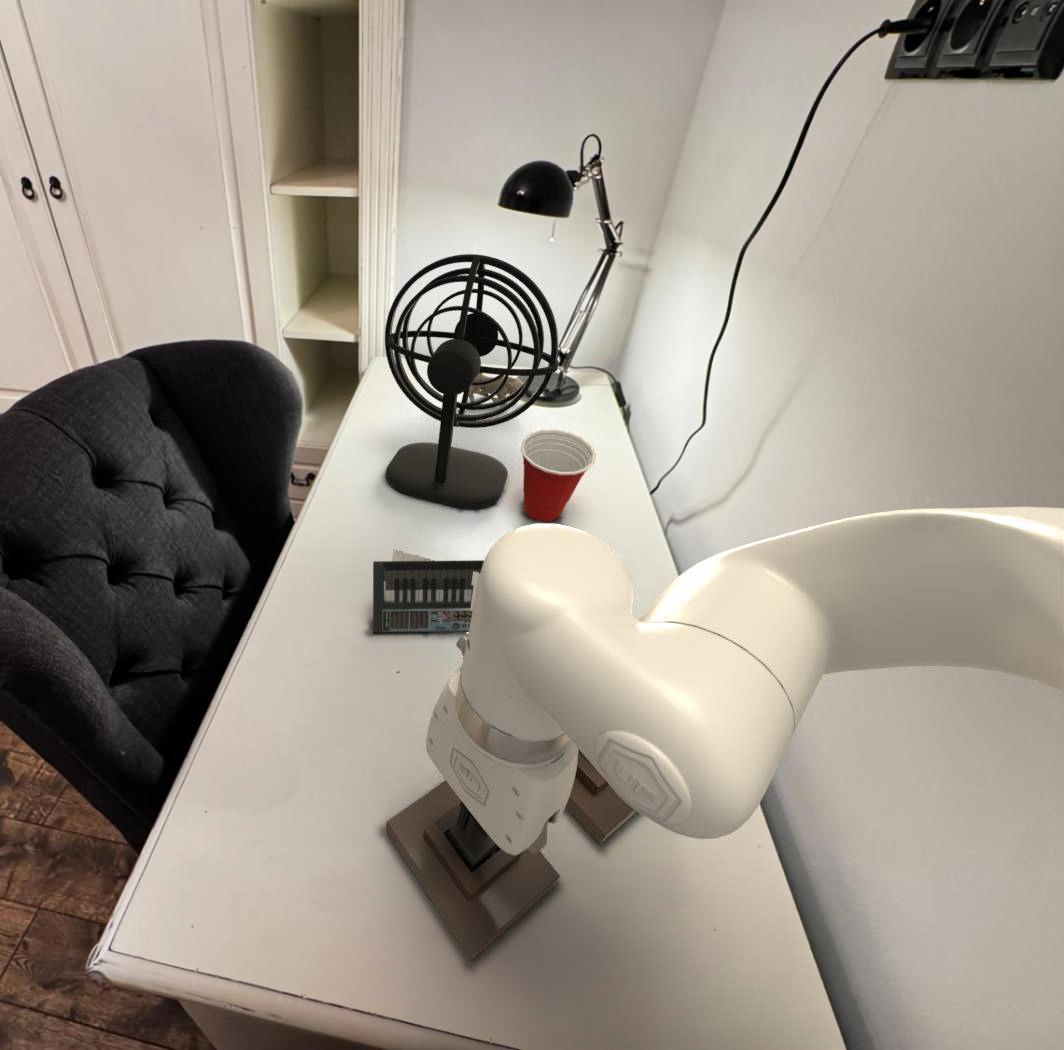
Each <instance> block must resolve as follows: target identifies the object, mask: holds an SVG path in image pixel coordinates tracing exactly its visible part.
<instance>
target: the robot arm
mask: <svg viewBox="0 0 1064 1050" xmlns="http://www.w3.org/2000/svg"><path fill="white" fill-rule="evenodd" d="M483 560H484V562H483V566H482V569H481V573H480V578H479V583H478V588H477V593H476V597H475V602H474V607H473V612H472V617H471V622H470V627H469V631H467V632H466V633H464V634H462V635H461V636H460V637H459V638H458V640H456V644H455V646H456V647H457V649H458V650H459V651H460V652H461V656H462V664H461V667H460V668H458V669H457V670H456V671H454V672H453V673H452V674H451V676H450V678H449V679H448V680H447V682H446V684H445V685H444V687H443V689H442V691H441V692H440V694H439V697H438V698H437V701H436V702H435V705H434V708H433V710H432V713H431V715H430V720H429V723H428V727H427V731H426V736H425V748H426V753H427V755H428V757H429V759H430V760H431V762H432V763H433V765H434V767H435V768H436V769H437V771H438V772H439V773H440V775H441V776H442V778H443V779H444V781H445V780H446V781H447V782H448V784H449V785H450V786H451V788H452V789H453V790H454V792H455V793H456V794H457V796H458V797H459V798H460V799H461V802H460V807H461V809H460V812H459V816H458V820H457V825H458V826H459V828H460V829H463V830H465V836H466V837H467V838H468V840H471V839H473V838H474V837H475V836H477V835H478V834H479V833H481V834H482V836H483V837H484V838H485V837H487V836H490V837H491V839H492V840H493V841H494V842H495V843H496V844H497V845H498V846H499V847H500V848H501V849H502V850H503V851H505V852H506V853H508V854H511V855H518V854H519V853H521V852H522V851H524V850H525V849H527V851H528V852H529V853H531V854H532V855H535V854H536V853H537V852H539V851H540V852H541V850H542V849H543V848H545V847H546V846H547V843H548V824H554V825H555V824H557V822H558V821H559V820H560V819H561V817H562V815H563V813H564V811H565V809H566V804H567V802H568V799H569V796H570V793H571V790H572V787H573V783H574V780H575V775H576V769H577V761H578V749H579V750H580V751H581V752H582V753H583V755H584V756H585V757H586V758H587V759H588V760H589V762H590V763H591V764H592V765H593V766H594V767H595V769H596V770H597V771H598V772H599V773H600V774H601V775H602V776H603V777H604V778H605V780H606V781H607V782H608V784H609V785H610V786H611V788H612V789H613V790H614V791H615V792H616V794H617V795H618V796H619V797H620V798H622V799H623V800H624V801H625V802H626V803H627V804H628V805H629V806H631V807H632V808H633V809H634V810H636V811H637V812H638V813H639V814H640V815H642V816H644V817H646V818H648V819H649V820H650V821H652V822H654V823H655V824H657V825H659V826H661V827H662V828H664V829H666V830H668V831H670V832H672V833H675V834H677V835H681V836H683V837H686V838H692V839H698V840H714V839H718V838H722V837H726V836H728V835H731V834H733V833H734V832H736V831H738V830H739V829H740V828H741V827H742V826H744V825H745V824H746V822H748V821H749V820H750V818H751V817H752V816H753V814H754V813H755V811H756V810H757V808H759V805H760V804H761V803H762V800H763V798H764V797H765V794H766V792H767V790H768V789H769V786H770V784H771V782H772V779H773V778H774V775H775V773H776V771H777V770H778V767H779V766H780V763H781V761H782V759H783V756H784V755H785V753H786V751H787V749H788V746H789V745H790V742H791V740H792V738H793V736H794V734H795V732H796V730H797V728H798V726H799V724H800V722H801V721H802V718H803V716H804V714H805V711H806V709H807V708H808V706H809V703H810V702H811V699H812V697H813V695H814V693H815V691H816V689H817V687H818V685H819V684H820V682H821V680H822V678H823V676H824V675H825V676H826V675H829V674H836V673H843V672H845V673H846V672H853V671H854V672H855V671H866V670H867V671H868V670H876V669H877V670H878V669H889V668H890V669H891V668H905V667H907V668H908V667H938V666H939V667H940V666H941V667H956V668H957V667H958V668H959V667H960V668H970V669H971V668H972V669H979V670H985V671H994V672H1000V673H1004V674H1008V675H1011V676H1016V677H1020V678H1023V679H1029V680H1032V681H1035V682H1038V683H1040V684H1044V685H1046V686H1049V687H1052V688H1055V689H1057V690H1060V691H1062V692H1064V507H1046V506H1045V507H1043V506H995V507H994V506H992V507H989V506H988V507H956V508H955V507H951V508H950V507H949V508H947V507H937V508H936V507H935V508H912V509H911V508H910V509H896V510H895V509H894V510H887V511H880V512H873V513H867V514H861V515H856V516H851V517H845V518H842V519H841V518H840V519H837V520H833V521H829V522H825V523H821V524H817V525H813V526H809V527H806V528H801V529H798V530H795V531H791V532H787V533H784V534H780V535H777V536H773V537H770V538H765V539H762V540H758V541H755V542H751V543H748V544H747V543H746V544H744V545H741V546H737V547H734V548H732V549H728V550H726V551H722V552H720V553H718V554H715V555H713V556H710V557H708V558H706V559H704V560H702V561H700V562H698V563H696V564H695V565H693V566H691V567H690V568H689V569H687V570H685V571H684V572H682V573H681V574H680V575H679V576H677V577H676V578H675V579H674V580H673V581H672V583H670V585H668V586H667V588H666V589H665V590H664V591H663V592H662V593H661V594H660V595H659V596H658V597H657V598H656V600H655V601H653V603H652V604H651V605H649V608H648V609H647V610H646V611H645V612H644V613H643V614H642V616H641V617H640V618H639V619H638V618H635V617H636V616H634V614H633V608H634V605H635V604H634V603H635V588H634V581H633V577H632V575H631V572H630V571H629V568H628V567H627V564H626V563H625V562H624V560H623V559H622V557H621V556H620V555H619V554H618V553H617V551H615V550H614V549H613V548H612V547H611V546H609V545H608V544H607V543H606V542H604V541H602V540H601V539H600V538H598V537H597V536H594V535H592V534H591V533H588V532H586V531H584V530H581V529H578V528H576V527H571V526H567V525H562V524H558V523H532V524H528V525H527V524H526V525H523V526H519V527H517V528H515V529H513V530H510V531H509V532H506V533H505V534H504V535H502V536H501V537H500V538H498V539H497V540H496V541H495V543H493V545H492V546H491V547H490V548H489V550H488V552H487V554H486V555H485V557H484V559H483Z"/></svg>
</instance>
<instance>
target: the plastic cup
mask: <svg viewBox="0 0 1064 1050" xmlns="http://www.w3.org/2000/svg"><path fill="white" fill-rule="evenodd" d="M520 451H521V453H522V459H523V462H522V463H523V485H522V486H523V487H522V489H523V490H522V491H523V502H522V503H523V504H522V505H523V510H524V512H525V514H526V515H527V516H528V517H529V518H531V519H534V520H535V521H539V522H552V521H555V520H557V519H558V518H559V517H560V516H561V515H562V513H563V512H564V510H565V507H566V506H567V504H568V502H569V501H570V499H571V497H572V495H573V494H574V492H575V491H576V489H577V487H578V484H579V483H580V481H581V479H582V477H583V476H584V475H585V474H586V472H587V471H588V470H589V469H590V468H591V467H593V466H594V465H595V463H596V458H597V452H596V450H595V449H594V446H593V445H592V444H591V443H590V442H588V441H587V440H586V439H585V438H583V437H582V436H580V435H577V434H575V433H573V432H571V431H567V430H561V429H556V428H550V429H547V428H546V429H539V430H536V431H532V432H530V433H529V434H527V435H526V436H524V438H522V441H521V445H520Z"/></svg>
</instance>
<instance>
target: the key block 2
mask: <svg viewBox="0 0 1064 1050" xmlns="http://www.w3.org/2000/svg"><path fill="white" fill-rule="evenodd" d="M565 809H566V810H567V811H568V812H569V813H570V814H571V816H573V817H574V819H576V821H577V822H578V823H579V824H580V825H581V826H582V827H583V828H584V830H586V832H587V833H588V834H589V835H590V836H591V837H592V838H593V840H594V841H595V842H596V843H597V844H598V845H601V844H602V843H604V841H606V840H607V839H608V838H609V837H610V836H611V835H612V834H614V833H615V832H616V831H617V830H618V829H619V828H620V827H622V825H624V824H625V823H626V822H627V821H628V820H629V819H630V818H632V817H633V815H635V814H636V813H637V812H638V811H636V810H634V809H633V808H632V807H631V806H629V805H628V804H627V803H626V802H625V801H624V800H623V799H622V798H620V797H619V796H618V795H617V794H616V792H615V791H614V790H613V789H612V788H611V786H610V785H609V784H608V782H607V781H606V780H605V778H604V777H603V776H602V775H601V774H600V773H599V772H598V771H597V770H596V769H595V767H594V766H593V765H592V764H591V763H590V762H589V761H588V760H587V759H586V758H585V757H584V756H583V755H582V754H581V753H580V752H579V751H578V761H577V769H576V775H575V780H574V783H573V787H572V790H571V793H570V796H569V799H568V802H567V804H566V807H565Z"/></svg>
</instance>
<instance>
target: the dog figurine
mask: <svg viewBox="0 0 1064 1050" xmlns="http://www.w3.org/2000/svg"><path fill="white" fill-rule="evenodd" d="M494 377H495V376H488V375H485V374H484V373H479V374H478V376H477V377H476V379H475V380H474V381H485V380H489V379H492V378H494ZM504 377H505V375H504V376H503V377H502V378H500V379H498V380H496V381H494V382H492V383H489V384H485V385H471V386H470V391H469V396H468V400H469V402H475V401H476V400H475V397H474V395H475V394H476V395H480V396H482V397H484V398H486V397H487V396H489V395H490V394H492V393H493V392H494V391H495V390H496V389H497V388H498V387H499V386H500V384H501V383H502V381H503V380H504ZM523 383H524V382H523V381H521V380H520V379H519V378H517V377H515V376H508V379H507V381H506V383H505V384H504V386H503V387H502V389H501V390H500V391H499V392H498V393H497V394H496V395H495V396H496V397H493V398H491V399H490V400H491V401H492V402H495V401H498V400H500V399H503V398H505V397H507V396H508V395H510V394H511V393H513V392H514V391H516V390H517V389H518V388H519V387H520V386H521V385H522V384H523ZM526 397H527V395H526V393H525V394H524V396H523V397H522V398H526ZM507 403H508V402H507ZM507 403H505V404H503V405H500V406H499V408H501V407H502V406H504V405H506V404H507Z"/></svg>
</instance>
